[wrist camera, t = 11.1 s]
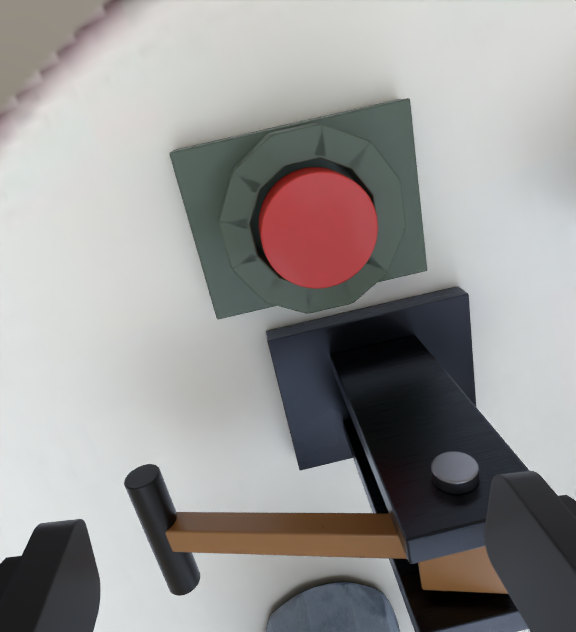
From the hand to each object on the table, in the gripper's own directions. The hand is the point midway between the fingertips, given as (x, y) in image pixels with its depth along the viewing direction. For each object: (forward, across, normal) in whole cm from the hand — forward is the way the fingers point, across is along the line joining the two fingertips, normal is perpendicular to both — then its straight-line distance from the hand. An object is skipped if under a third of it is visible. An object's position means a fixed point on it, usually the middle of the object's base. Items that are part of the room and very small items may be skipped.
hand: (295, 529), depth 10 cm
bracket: (+15, -6, +6) cm, 17 cm away
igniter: (+15, -2, -3) cm, 16 cm away
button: (+12, -2, -3) cm, 13 cm away
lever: (+7, -1, +6) cm, 10 cm away
